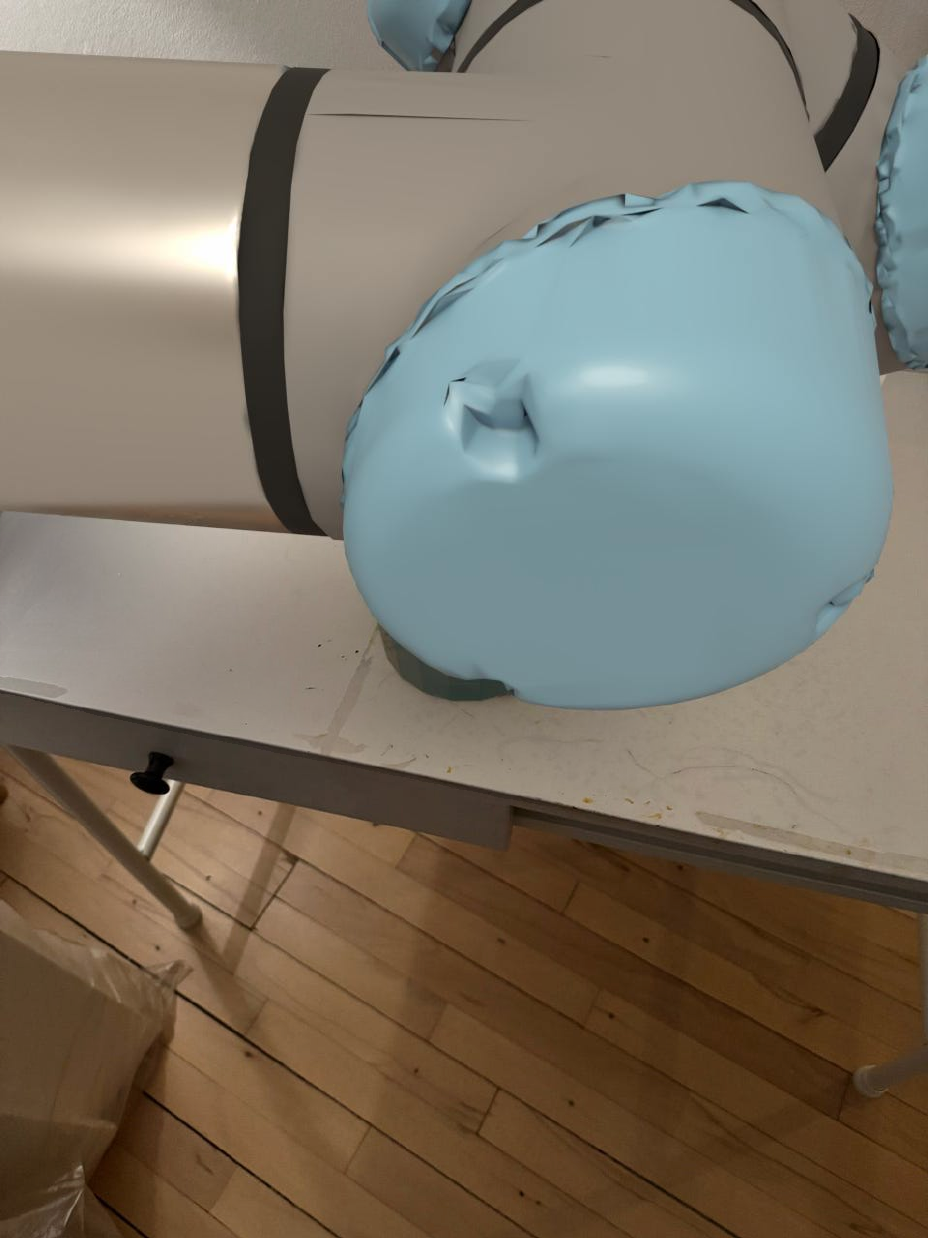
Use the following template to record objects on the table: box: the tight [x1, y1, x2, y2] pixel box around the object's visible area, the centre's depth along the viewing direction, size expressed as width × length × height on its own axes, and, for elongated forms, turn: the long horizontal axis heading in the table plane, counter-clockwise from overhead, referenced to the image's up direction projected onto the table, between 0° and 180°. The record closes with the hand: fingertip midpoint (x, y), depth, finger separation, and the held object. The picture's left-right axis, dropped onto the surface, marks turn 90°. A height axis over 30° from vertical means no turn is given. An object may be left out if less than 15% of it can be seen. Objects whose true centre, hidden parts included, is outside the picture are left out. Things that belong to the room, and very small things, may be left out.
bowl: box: [376, 621, 510, 702], centre depth 65 cm, size 14×14×6 cm
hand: (430, 440), depth 53 cm, fingers open, 13 cm apart
